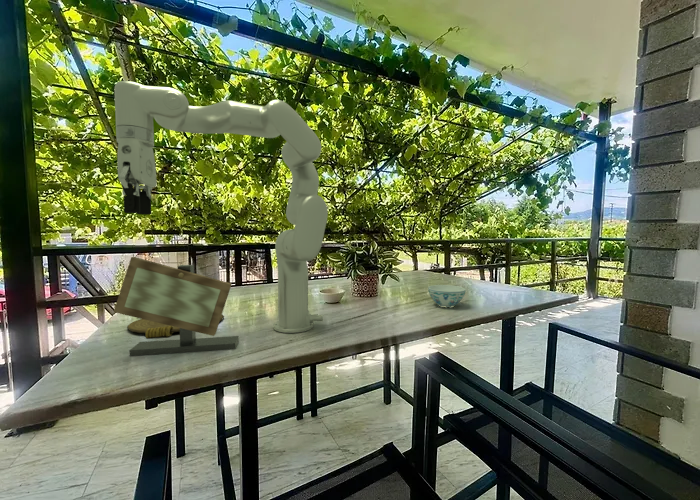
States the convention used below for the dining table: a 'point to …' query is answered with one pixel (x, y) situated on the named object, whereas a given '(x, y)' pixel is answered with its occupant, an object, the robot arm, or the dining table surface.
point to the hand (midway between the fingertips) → (138, 212)
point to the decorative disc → (153, 328)
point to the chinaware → (446, 294)
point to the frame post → (184, 340)
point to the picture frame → (172, 296)
